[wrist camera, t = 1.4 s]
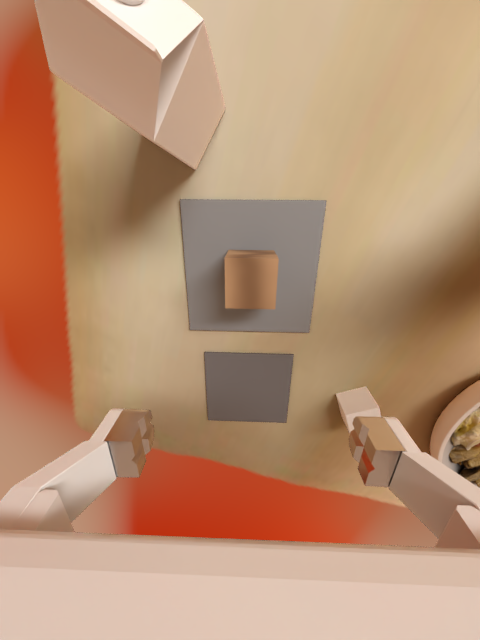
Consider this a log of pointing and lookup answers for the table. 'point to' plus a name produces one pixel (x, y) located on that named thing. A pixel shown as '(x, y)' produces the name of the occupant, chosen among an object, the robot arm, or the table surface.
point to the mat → (248, 386)
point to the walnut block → (251, 279)
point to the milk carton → (139, 66)
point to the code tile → (251, 234)
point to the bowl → (460, 435)
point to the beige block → (356, 405)
